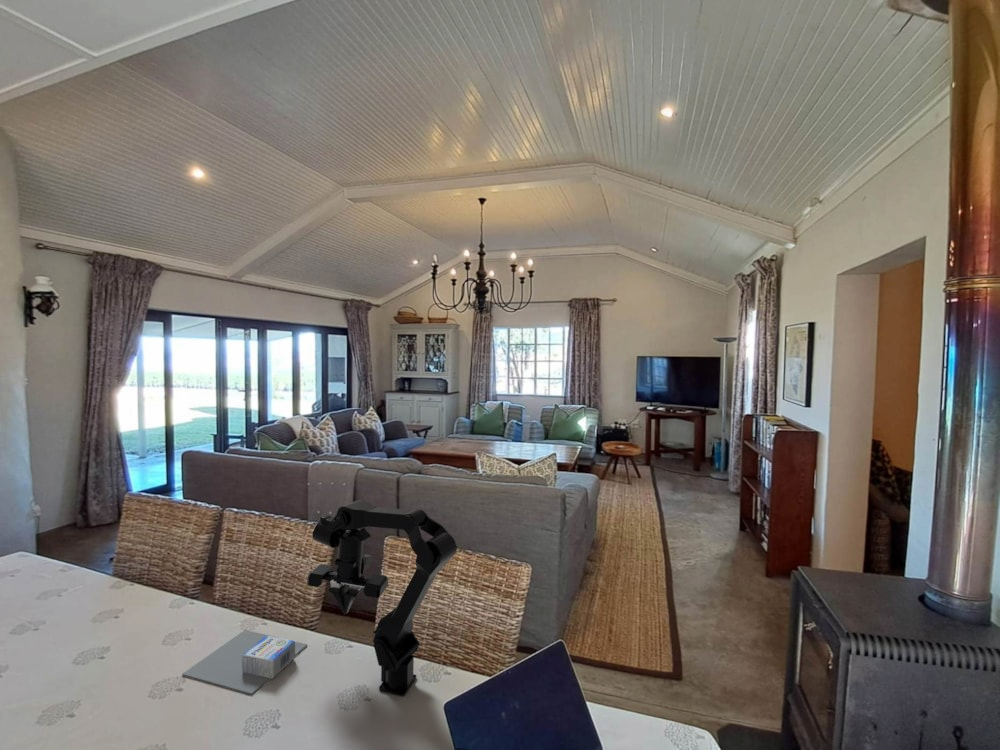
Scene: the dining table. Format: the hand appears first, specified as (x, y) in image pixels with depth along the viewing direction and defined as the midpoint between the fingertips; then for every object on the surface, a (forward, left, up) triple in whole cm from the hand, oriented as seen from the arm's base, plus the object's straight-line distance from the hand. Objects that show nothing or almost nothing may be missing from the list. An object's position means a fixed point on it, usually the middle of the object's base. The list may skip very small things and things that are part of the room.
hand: (345, 612), depth 112 cm
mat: (+22, +7, -12) cm, 27 cm away
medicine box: (+11, +8, -9) cm, 16 cm away
